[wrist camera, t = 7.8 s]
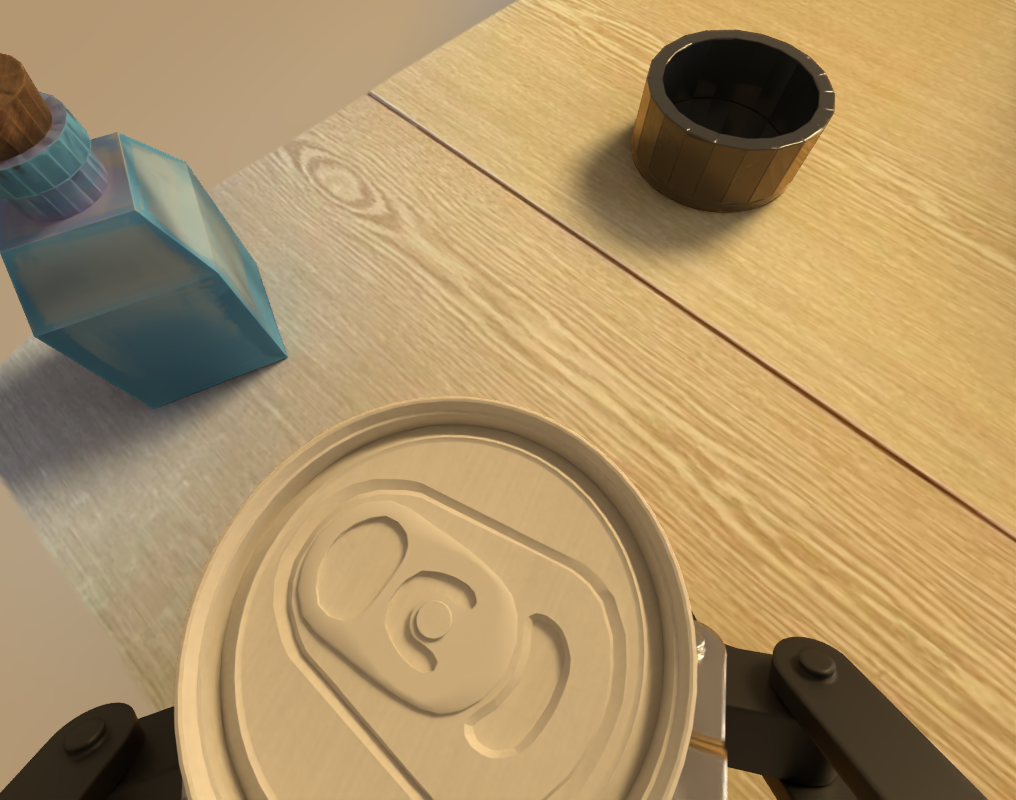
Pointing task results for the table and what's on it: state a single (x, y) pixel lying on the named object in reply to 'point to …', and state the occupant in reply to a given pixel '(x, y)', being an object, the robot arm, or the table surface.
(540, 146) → the table surface
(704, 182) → the round brown bowl
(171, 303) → the perfume bottle
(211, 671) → the beer can
